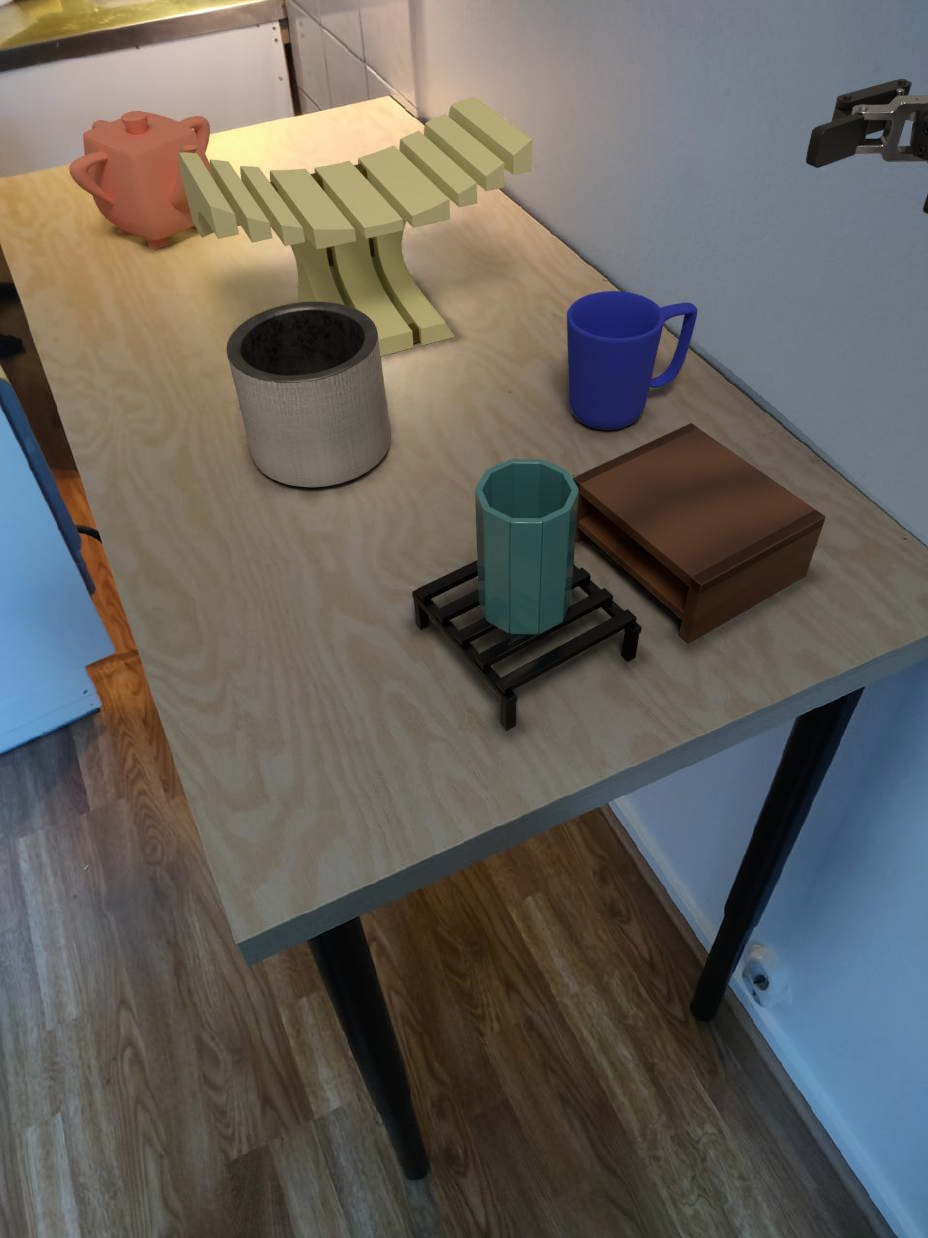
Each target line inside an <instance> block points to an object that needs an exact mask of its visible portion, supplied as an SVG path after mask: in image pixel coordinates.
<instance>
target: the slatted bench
mask: <svg viewBox="0 0 928 1238" xmlns="http://www.w3.org/2000/svg"><path fill="white" fill-rule="evenodd" d="M398 147H399V148H397V146H395V145H392V146H388V147H385V148H384V149H381V150H377V151H374V152H372V153H369V154H366V155H363V156H360V157H357V163H356V164H354V163H353V162H352V161H351V160H345V161H342V162H338V163H334V164H327V165H323V166H315V167H314V172H313V173H310V172H309V171H308V169H306V168H297V169H296V168H295V169H270V170H269V179H268V177H267V176H266V175H265V174H264V172H263V171H262V170H261V167H260V166H250V165H249V166H248V165H240V166H239V170H240V171H239V173H240V176H239V175H238V173H237V172H236V169H234V167H233V166H232V164H231V162H230V161H228V160H227V161H226V160H220V159H212V158H211V159H209V163H210V171H211V175H210V173H209V172H208V170H207V168H206V167H205V165H204V164H203V162H202V160H201V159H200V157H199V155H198V154H196V153H188V152H182V153H178V162H179V167H180V172H181V177H182V181H183V185H184V189H185V193H186V196H187V200H188V204H189V208H190V212H191V216H192V220H193V222H194V224H195V226H196V228H197V230H196V231H197V232H198V233H199V235H200V237H201V239H203V238H205V237H207V236H210V235H211V234H214V235H215V237H216V238H217V240H220V239H225V238H230V237H234V236H238V235H240V232H239V231H240V230H239V227H241V228H242V229H243V231H244V233H245V235H246V236H247V237H248V239H249V240H250V243H257V242H262V241H265V240H270V239H273V238H274V237H273V232H274V233H275V234H276V236H277V237H278V238H279V240H280V241H281V243H282V245H283V246H284V247H289V246H290V248H291V250H292V253H293V256H294V259H295V264H296V269H297V283H298V284H297V285H298V287H297V290H298V291H297V294H298V295H297V303H299V302H314V301H315V302H331V303H338V304H342V305H346V306H350V307H352V308H355V309H357V310H359V311H361V312H363V313H364V314H366V315H367V316H368V317H369V318H370V319H371V320H372V321H373V322H374V324H375V326H376V328H377V332H378V339H379V347H380V356H381V357H384V356H388V355H392V354H395V353H399V352H403V351H407V350H410V349H414V348H415V347H414V346H415V345H414V344H417V343H419V344H420V345H421V346H426V345H429V344H433V343H437V342H440V341H445V340H449V339H452V338H456V335H455V334H454V333H453V332H452V331H451V329H450V327H449V326H448V324H447V323H446V321H445V320H444V318H443V317H442V316H441V315H440V314H439V312H438V311H437V310H436V309H435V308H434V306H433V305H432V303H431V302H430V301H429V300H428V298H427V297H426V296H425V294H424V293H423V292H422V290H421V288H420V287H419V286H418V285H417V283H416V282H415V280H414V279H413V276H412V275H411V273H410V272H409V270H408V267H407V265H406V262H405V259H404V253H403V235H404V231H405V227H406V224H407V223H408V225H410V227H412V229H415V228H416V229H417V228H419V227H420V228H421V227H424V226H428V225H432V224H433V225H434V224H438V223H442V222H447V221H450V220H451V207H450V205H451V204H450V203H451V202H452V203H453V204H455V205H456V206H457V207H458V209H459V208H464V207H469V206H472V205H477V204H478V186H479V187H480V188H481V189H483V190H484V191H485V192H490V191H495V190H499V189H500V190H501V189H503V188H505V171H507V172H509V173H510V174H511V175H513V176H515V175H520V174H525V173H530V172H532V170H533V169H532V164H533V139H532V138H531V137H530V136H528V135H527V134H526V133H525V132H523V131H522V130H520V129H519V128H518V127H517V126H515V125H514V124H512V123H511V122H510V121H509V120H507V119H506V118H504V117H503V115H500V113H498V112H497V111H495V109H493V108H491V107H490V106H488V105H487V104H486V103H485V102H483V101H482V100H481V99H479V98H478V97H476V96H471V97H467V98H464V99H461V100H459V101H457V102H455V103H452V104H450V107H449V111H448V114H446V113H444V114H440V115H439V116H436V117H434V118H433V119H430V120H429V121H426V122H425V123H424V127H423V132H421V131H420V130H417V131H414V132H412V133H410V134H407V135H405V136H403V137H401V138H399V146H398ZM272 230H273V232H272Z"/></svg>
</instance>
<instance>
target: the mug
mask: <svg viewBox="0 0 928 1238" xmlns="http://www.w3.org/2000/svg"><path fill="white" fill-rule="evenodd" d="M679 316H683V319H682V324H681V329H680V333H679V337H678V341H677V344H676V347H675V351H674V353H673V356H672V359H671V361H670V362H669V365H668V366H667V368H666V369H665V370H664V371H663V372H662V373H661V374H659V375H658V376H655V377H653V373H654V368H655V364H656V360H657V355H658V351H659V347H660V343H661V338H662V334H663V333H662V332H663V330H664V329H663V328H664V324H665V322H667V321H668V320H670V319H672V318H676V317H679ZM697 317H698V308H697V306H696V305H694V304H693V303H692V302H678V303H674V304H673V303H672V304H668V305H665V306H662V307H660V305H658V304H657V303H656V302H655V301H654V300H652V299H650V298H648V297H647V296H644V295H641V294H638V293H634V292H629V291H621V290H620V291H619V290H607V291H605V290H604V291H599V292H593V293H590V294H587V295H584V296H582V297H580V298H578V299H576V300H575V301H574V302H573V303H572V304H571V305H570V307H569V308H568V309H567V313H566V337H567V373H568V402H569V407H570V410H571V412H572V414H573V416H574V417H575V419H576V420H578V421H579V422H580V423H582V424H584V425H585V426H587V427H590V428H593V429H597V430H603V431H606V430H607V431H608V430H609V431H613V430H619V429H623V428H626V427H628V426H631V425H632V424H634V423H635V422H637V421H638V419H639V418H640V417H641V415H642V413H644V410H645V407H646V404H647V401H648V396H649V390H650V389H651V388H652V389H657V388H662V387H665V386H667V385H669V384H670V383H671V382H672V381H674V379H675V378H676V377H677V376H678V374H679V373H680V371H681V369H682V367H683V364H684V362H685V359H686V357H687V354H688V351H689V348H690V344H691V340H692V337H693V333H694V329H695V325H696V321H697Z"/></svg>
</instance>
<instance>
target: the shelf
mask: <svg viewBox="0 0 928 1238" xmlns="http://www.w3.org/2000/svg"><path fill="white" fill-rule="evenodd" d="M572 478H573V480H574V482H575V484H576V486H577V487H578V489H579V495H578V508H577V522H576V535H575V543H579V542H581V541H583V540H585V539H587V538H588V539H590V541H592V542H593V543H594V544H595V545H596V546H598V548H600V549H601V550H602V551H603V552H605V554H606V555H608V556H609V557H610V558H611V559H612V560H613V561H615V563H617V564H618V565H619V566H620V567H621V568H623V569H624V570H625V571H626V572H627V573H628V574H629V575H630V576H632V577H633V578H634V580H636V581H637V582H638V583H639V584H641V586H643V588H645V589H646V590H647V591H648V592H650V593H651V594H652V595H653V596H654V597H655V598H656V599H657V600H659V602H661V603H662V604H663V605H664V606H665V607H667V608H668V609H669V610H670V611H671V612H672V613H673V614H674V615H675V616H677V617H678V618H679V619H680V620H681V624H680V629H679V634H678V636H679V637H680V638H681V639H682V640H684V641H685V642H686V643H687V644H691V642H693V641H695V640H697V639H698V638H700V637H703V636H704V635H705V634H707V633H709V632H711V631H713V630H714V629H716V628H718V627H720V626H722V625H723V624H725V623H726V622H728V621H730V620H732V619H734V618H735V617H737V616H738V615H740V614H742V613H744V612H746V611H747V610H750V609H751V608H753V607H754V606H756V605H758V604H760V603H761V602H763V601H765V600H766V599H769V598H770V597H772V596H773V595H775V594H777V593H779V592H780V591H782V590H784V589H786V588H787V587H788V586H791V585H793V584H794V583H796V582H798V581H800V580H801V579H803V578H804V577H806V576H807V574H808V571H809V569H810V564H811V562H812V560H813V556H814V553H815V551H816V548H817V545H818V541H819V538H820V535H821V533H822V529H823V527H824V524H825V521H826V518H827V516H826V515H824V514H823V513H822V512H820V511H819V510H818V509H816V508H814V507H813V506H811V505H810V504H809V503H807V502H806V501H804V500H802V498H799V497H798V496H797V495H795V494H794V493H792V492H791V491H790V490H788V489H787V488H786V487H784V486H782V485H781V484H779V483H778V482H777V481H775V480H774V479H772V478H771V477H770V476H769V475H767V474H765V473H764V472H762V471H761V470H759V469H758V468H757V467H755V466H754V465H753V464H751V463H750V462H748V461H747V460H746V459H744V458H742V457H741V456H739V455H738V454H737V453H735V452H733V451H732V450H731V449H729V448H728V447H727V446H725V445H723V444H722V443H721V442H719V441H718V440H716V439H715V438H713V437H712V436H711V435H709V434H708V433H707V432H705V431H704V430H702V429H700V428H699V427H698V426H697V425H696V424H693V423H692V422H690V423H688V424H685V425H684V426H681V427H679V428H677V429H674V430H673V431H670V432H669V433H665V434H664V435H662V436H660V437H657V438H655V439H654V440H652V441H649V442H647V443H645V444H643V445H641V446H639V447H636V448H634V449H632V450H630V451H627V452H625V453H623V454H620V455H619V456H616V457H615V458H612V459H610V460H609V461H606V462H604V463H602V464H600V465H597V466H595V467H593V468H590V469H588V470H587V471H584V472H582V473H580V474H578V475H575V476H573V477H572Z"/></svg>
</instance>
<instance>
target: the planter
mask: <svg viewBox="0 0 928 1238" xmlns="http://www.w3.org/2000/svg"><path fill="white" fill-rule="evenodd" d="M226 355H227V356H226V357H227V360H228V364H229V368H230V372H231V377H232V380H233V384H234V388H235V391H236V393H235V394H236V396H237V401H238V405H239V409H240V413H241V417H242V422H243V426H244V430H245V434H246V439H247V442H248V448H249V452H250V455H251V457H252V459H253V461H254V464H255V465H256V467H257V468H258V469H259V470H260V472H262V473H263V474H264V475H265V476H267V477H269V478H270V479H272V480H274V481H277V482H279V483H282V484H284V485H289V486H293V487H301V488H311V489H312V488H324V487H325V488H326V487H331V486H332V487H333V486H336V485H340V484H344V483H347V482H349V481H353V480H355V479H356V478H359V477H361V476H362V475H364V474H366V473H367V472H369V471H371V470H373V469H374V468H375V467H376V466H378V464H379V463H380V462H381V461H382V460H383V458H384V457H386V455H387V453H388V450H389V448H390V444H391V424H390V416H389V408H388V402H387V394H386V388H385V387H386V386H385V381H384V371H383V364H382V356H380V347H379V339H378V332H377V328H376V326H375V324H374V322H373V321H372V320H371V319H370V318H369V317H368V316H367V315H366V314H364V313H363V312H361V311H359V310H357V309H355V308H352V307H350V306H346V305H342V304H338V303H331V302H315V301H314V302H299V303H298V302H293V303H287V304H281V305H278V306H275V307H272V308H269V309H266V310H263V311H261V312H259V313H257V314H255V315H253V316H251V317H250V318H248V319H246V320H245V321H243V322H242V323H240V325H238V326H237V328H235V329H234V330H233V332H232V333H231V334H230V336H229V338H228V340H227V343H226Z"/></svg>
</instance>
